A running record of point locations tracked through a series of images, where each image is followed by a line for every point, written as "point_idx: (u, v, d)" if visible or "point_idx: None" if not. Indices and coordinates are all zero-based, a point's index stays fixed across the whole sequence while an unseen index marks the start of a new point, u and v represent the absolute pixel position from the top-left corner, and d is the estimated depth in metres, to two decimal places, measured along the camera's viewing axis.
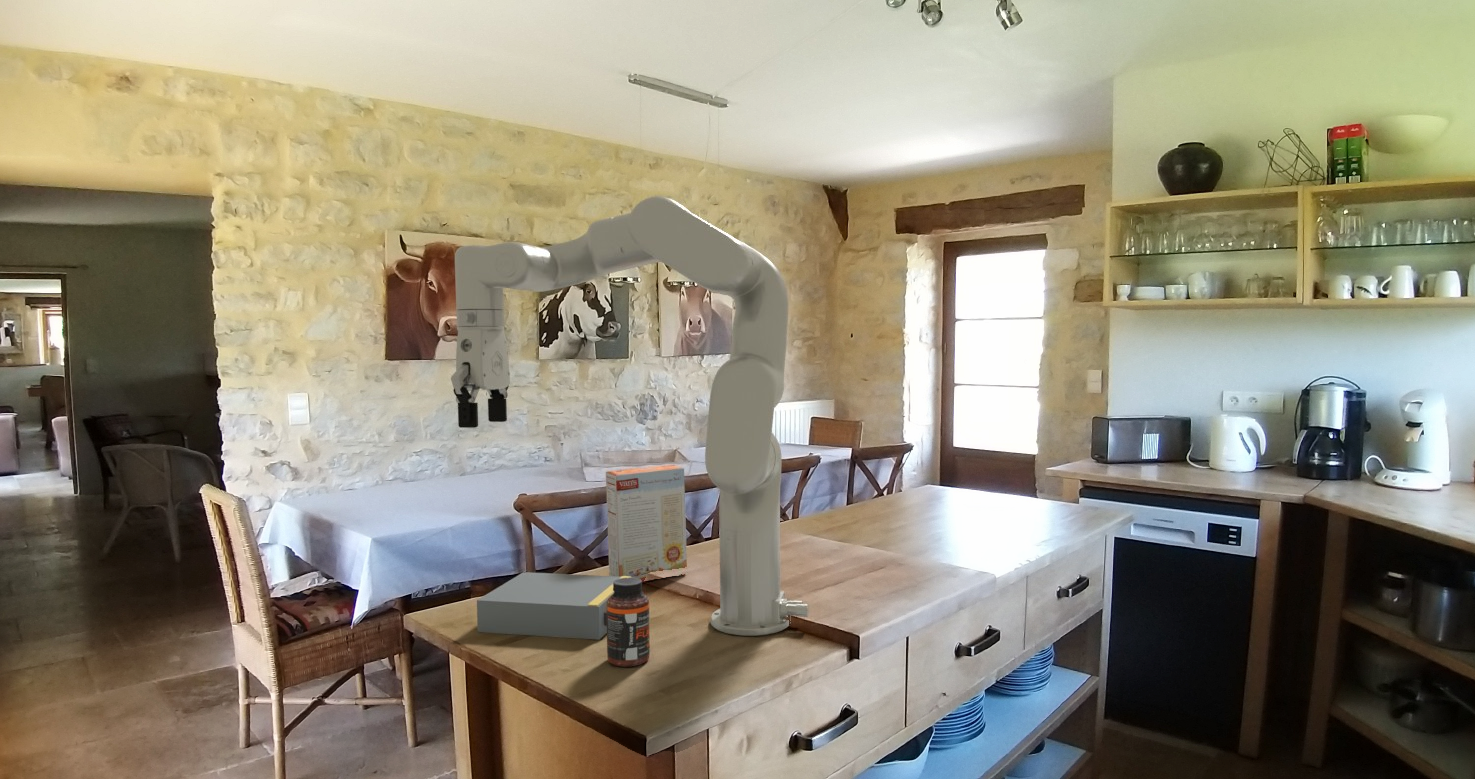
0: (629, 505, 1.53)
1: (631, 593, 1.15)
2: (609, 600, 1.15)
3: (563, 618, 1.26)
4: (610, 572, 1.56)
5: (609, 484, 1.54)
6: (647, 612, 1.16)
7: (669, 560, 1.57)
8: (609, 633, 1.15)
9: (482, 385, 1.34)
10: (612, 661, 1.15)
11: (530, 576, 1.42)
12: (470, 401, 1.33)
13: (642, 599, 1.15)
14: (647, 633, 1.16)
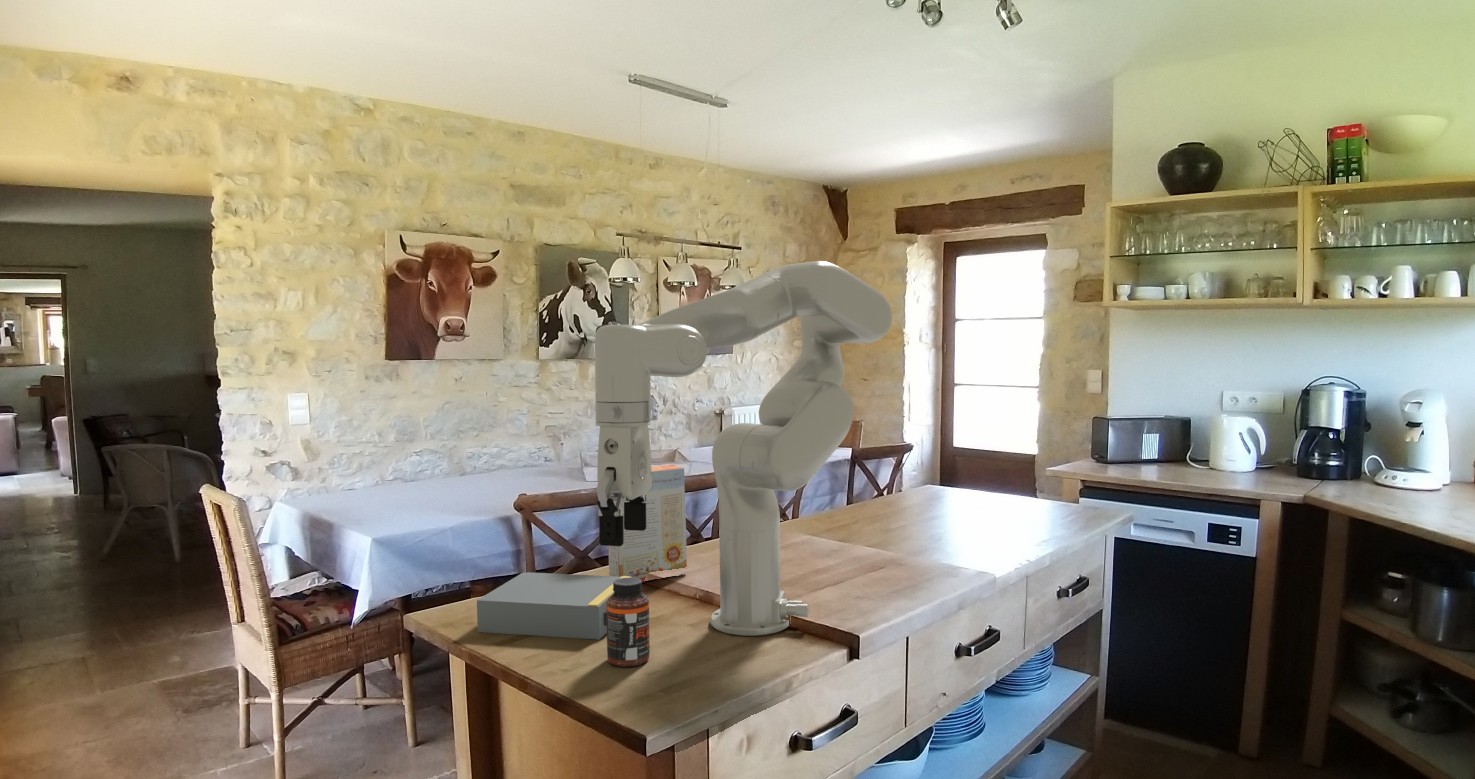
0: None
1: (631, 593, 1.15)
2: (609, 600, 1.15)
3: (563, 618, 1.26)
4: (610, 572, 1.56)
5: None
6: (647, 612, 1.16)
7: (669, 560, 1.57)
8: (609, 633, 1.15)
9: (629, 495, 1.10)
10: (612, 661, 1.15)
11: (530, 576, 1.42)
12: (616, 515, 1.09)
13: (642, 599, 1.15)
14: (647, 633, 1.16)
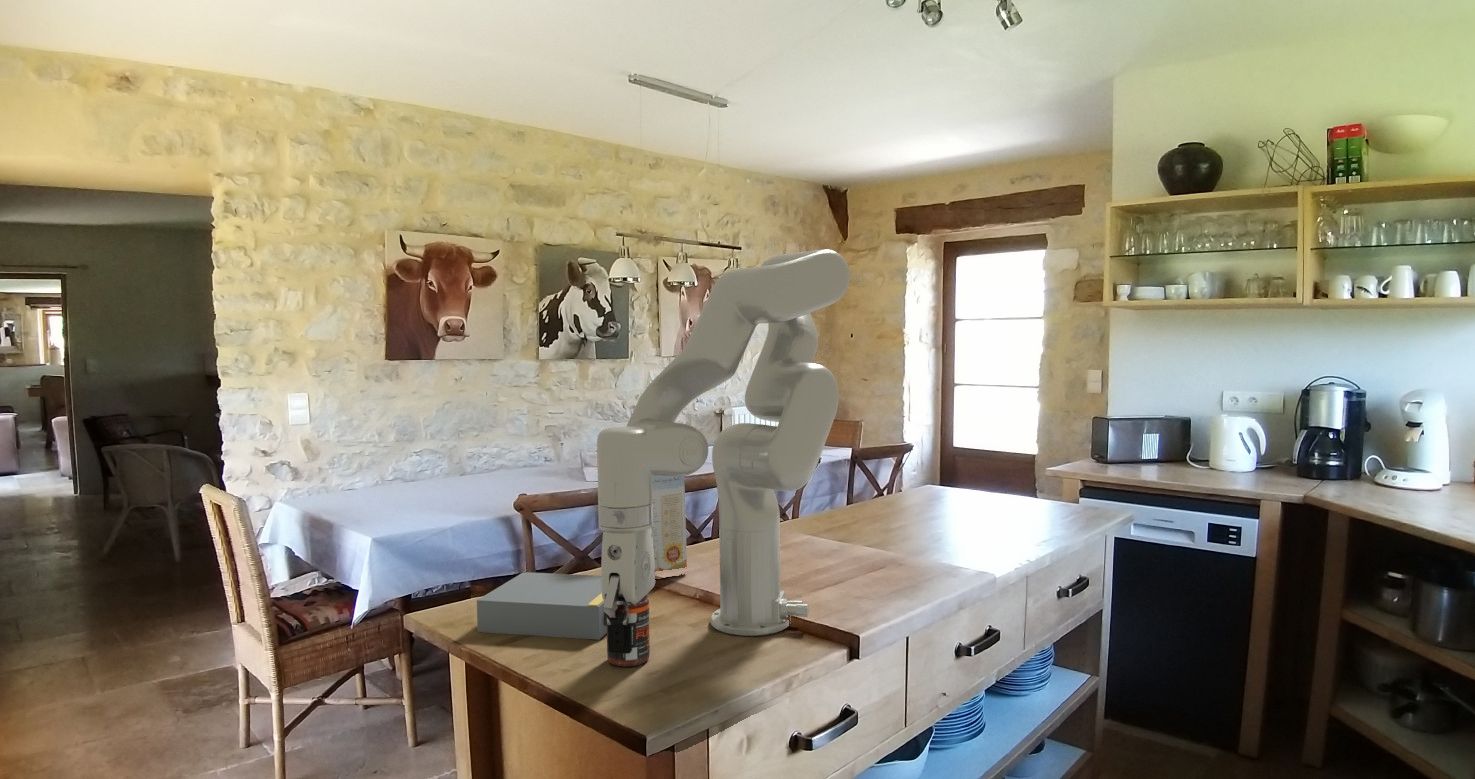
0: None
1: None
2: None
3: (563, 618, 1.26)
4: None
5: None
6: (647, 612, 1.16)
7: (669, 560, 1.57)
8: None
9: (633, 600, 1.11)
10: (612, 661, 1.15)
11: (530, 576, 1.42)
12: (625, 625, 1.12)
13: (642, 599, 1.15)
14: (647, 633, 1.16)
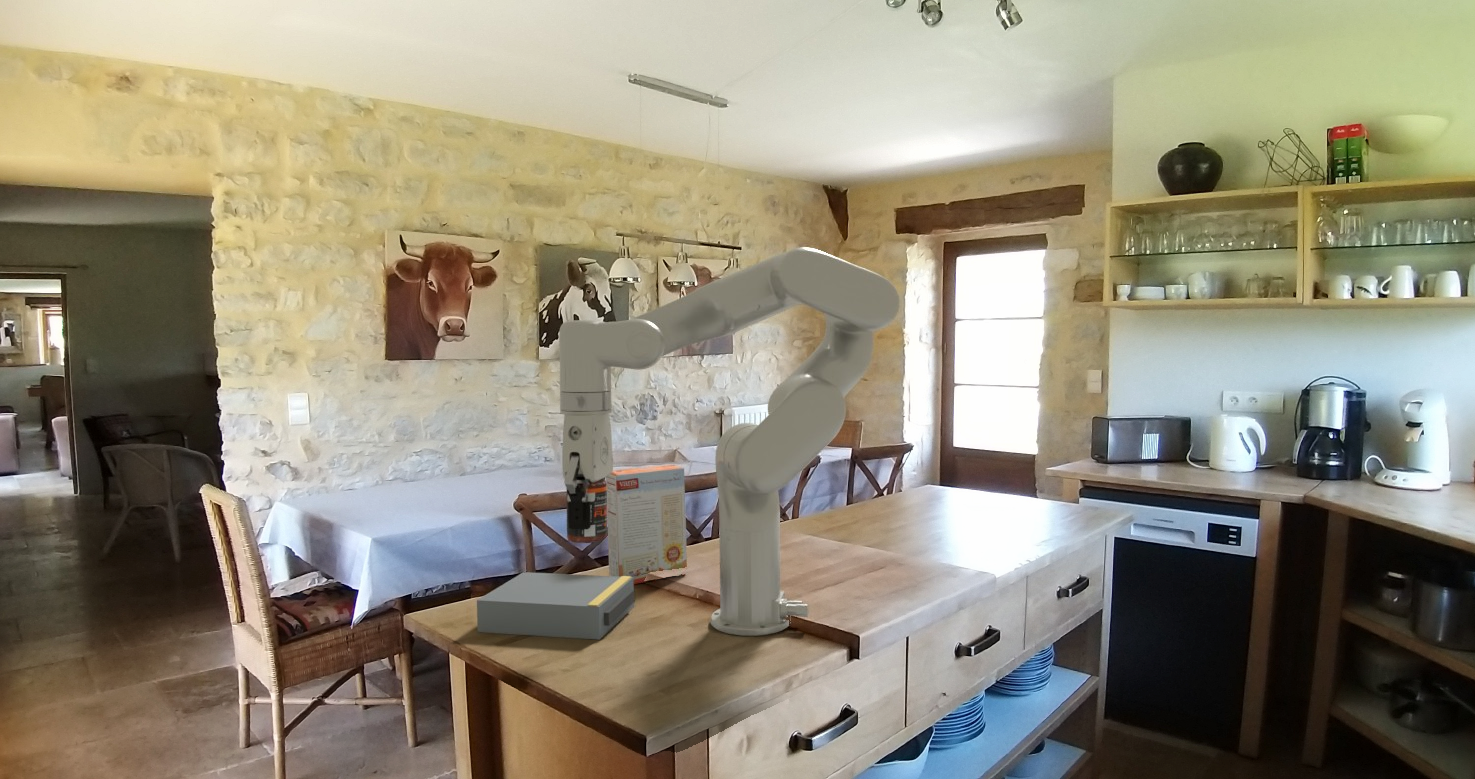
0: (629, 505, 1.53)
1: None
2: None
3: (563, 618, 1.26)
4: (610, 572, 1.56)
5: (609, 484, 1.54)
6: (605, 493, 1.24)
7: (669, 560, 1.57)
8: None
9: (592, 478, 1.19)
10: (571, 538, 1.23)
11: (530, 576, 1.42)
12: (584, 501, 1.20)
13: (600, 481, 1.23)
14: (605, 513, 1.24)
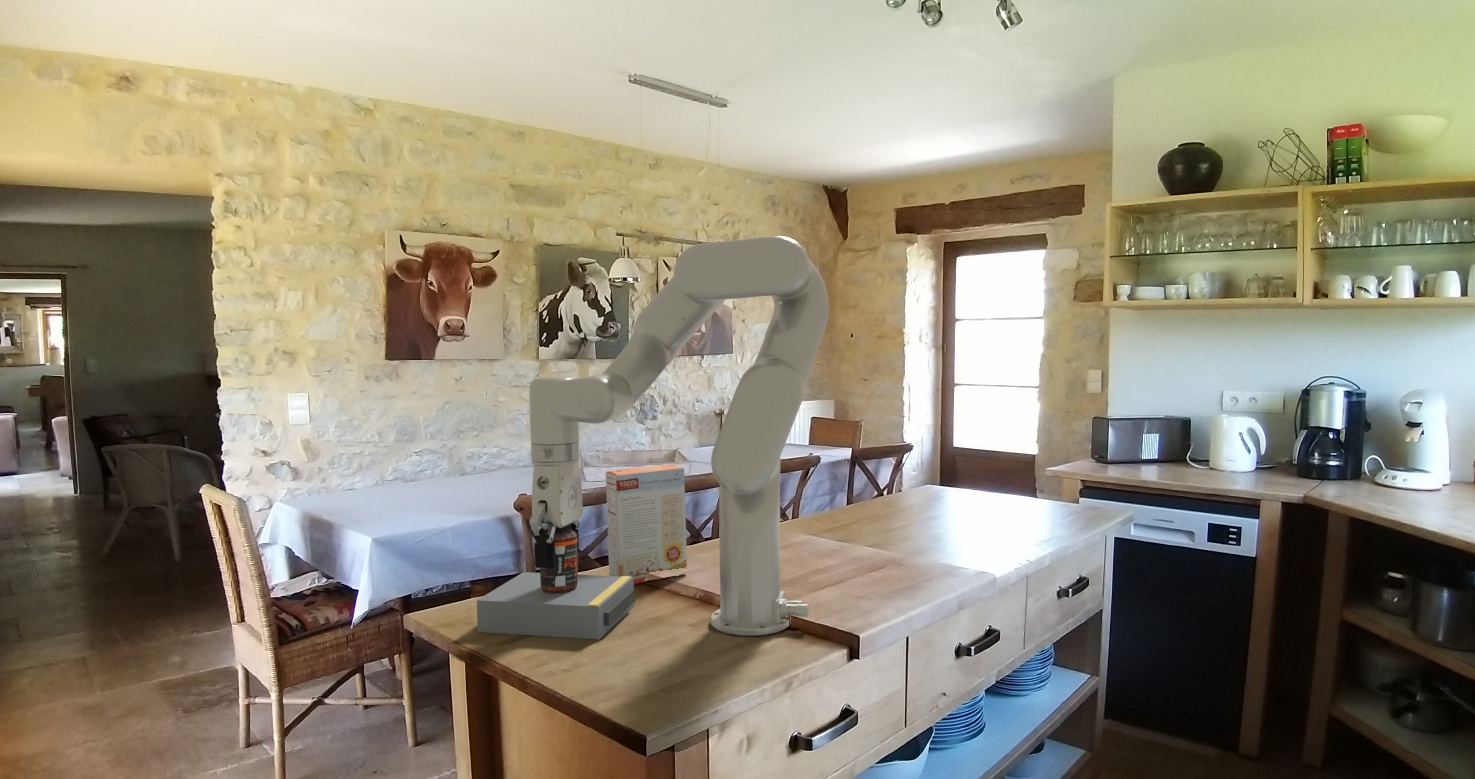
0: (629, 505, 1.53)
1: (561, 529, 1.32)
2: None
3: (563, 618, 1.26)
4: (610, 572, 1.56)
5: (609, 484, 1.54)
6: (575, 546, 1.34)
7: (669, 560, 1.57)
8: None
9: (559, 524, 1.29)
10: (544, 587, 1.33)
11: (530, 576, 1.42)
12: (548, 542, 1.28)
13: (570, 534, 1.33)
14: (575, 564, 1.34)
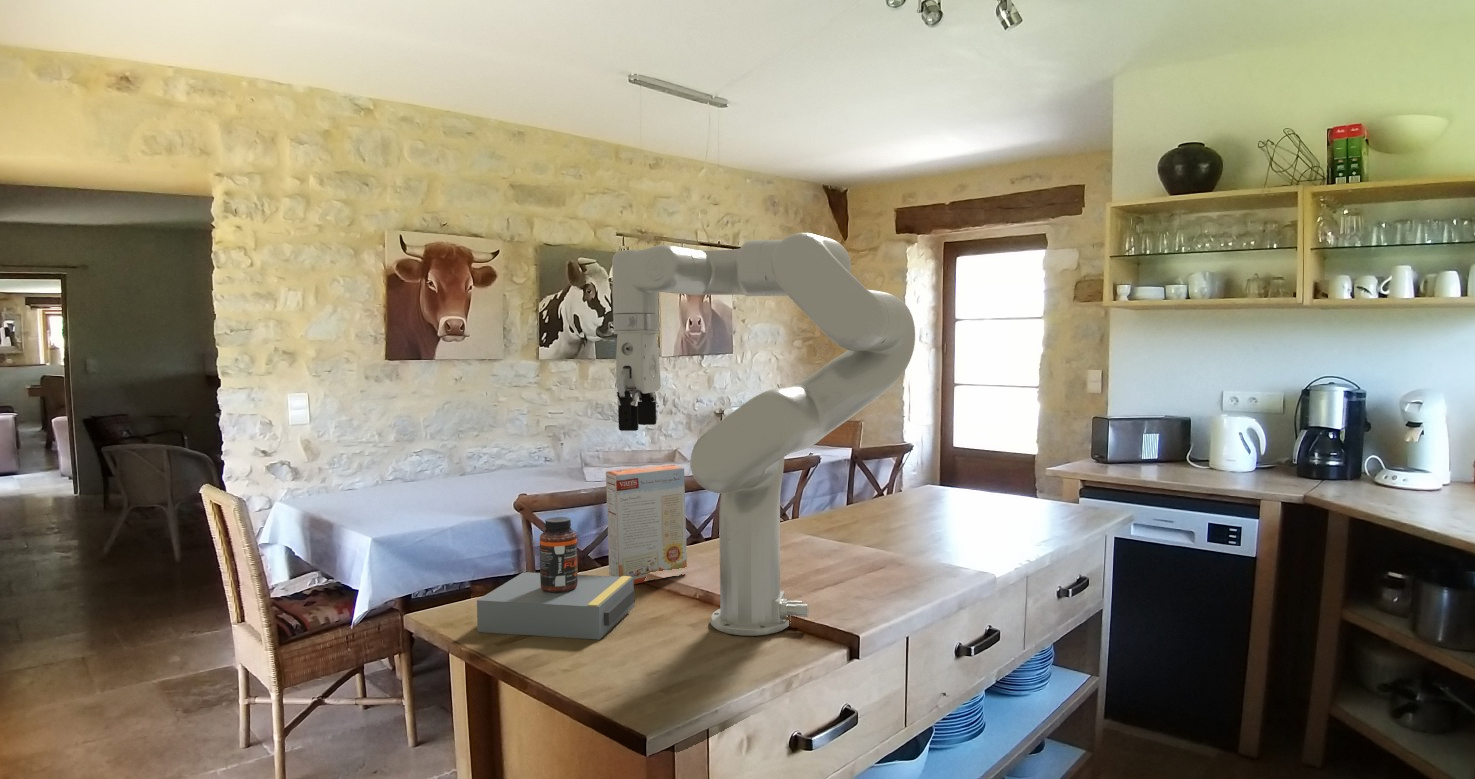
0: (629, 505, 1.53)
1: (560, 529, 1.33)
2: (541, 535, 1.33)
3: (563, 618, 1.26)
4: (610, 572, 1.56)
5: (609, 484, 1.54)
6: (574, 546, 1.34)
7: (669, 560, 1.57)
8: (541, 563, 1.33)
9: (643, 388, 1.34)
10: (544, 588, 1.33)
11: (530, 576, 1.42)
12: (632, 404, 1.34)
13: (570, 534, 1.33)
14: (574, 564, 1.34)
